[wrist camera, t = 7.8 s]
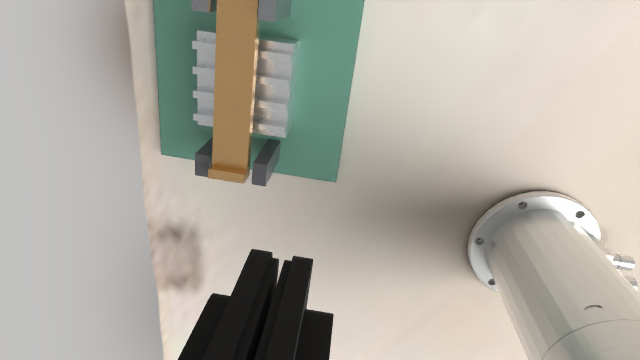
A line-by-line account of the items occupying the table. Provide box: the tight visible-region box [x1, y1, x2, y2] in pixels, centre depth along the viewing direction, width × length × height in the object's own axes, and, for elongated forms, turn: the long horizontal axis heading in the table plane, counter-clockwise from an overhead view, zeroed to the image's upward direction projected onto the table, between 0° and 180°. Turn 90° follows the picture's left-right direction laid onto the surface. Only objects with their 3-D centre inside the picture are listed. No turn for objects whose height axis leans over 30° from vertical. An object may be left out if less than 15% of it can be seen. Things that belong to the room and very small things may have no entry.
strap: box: [208, 0, 260, 183], centre depth 32 cm, size 3×14×2 cm, turn 172°
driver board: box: [153, 0, 365, 186], centre depth 35 cm, size 18×18×7 cm
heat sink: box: [191, 0, 300, 138], centre depth 33 cm, size 8×12×6 cm, turn 172°
